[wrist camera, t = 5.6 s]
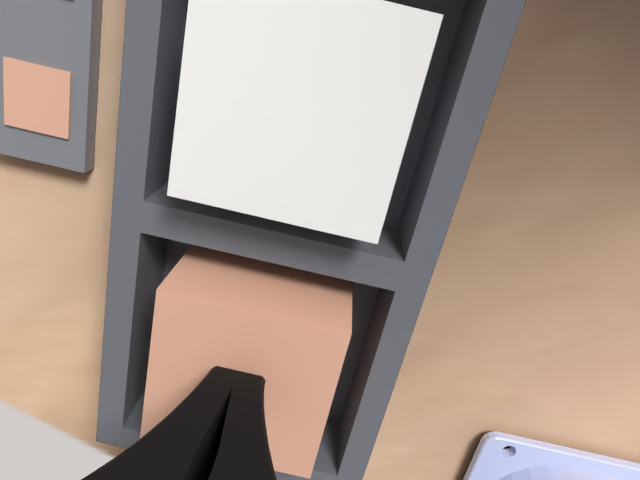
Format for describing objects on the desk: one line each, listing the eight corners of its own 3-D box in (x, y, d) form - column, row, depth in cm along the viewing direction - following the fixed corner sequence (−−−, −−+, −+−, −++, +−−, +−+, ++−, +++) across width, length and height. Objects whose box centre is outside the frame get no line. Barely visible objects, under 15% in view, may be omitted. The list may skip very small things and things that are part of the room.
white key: (424, 20, 13) (443, 14, 10) (373, 205, 15) (377, 244, 12) (229, -27, 13) (193, -46, 10) (203, 165, 14) (166, 195, 12)
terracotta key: (352, 281, 16) (351, 334, 13) (317, 408, 17) (310, 478, 15) (192, 243, 15) (156, 289, 13) (174, 376, 17) (139, 440, 14)
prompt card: (108, -116, 14) (96, -123, 13) (93, 168, 17) (83, 174, 16) (-2, -142, 14) (-20, -151, 13) (3, 147, 17) (-12, 152, 16)
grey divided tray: (621, -416, 11) (733, -609, 8) (355, 423, 20) (355, 498, 16) (232, -518, 11) (178, -758, 8) (139, 374, 20) (96, 441, 16)
